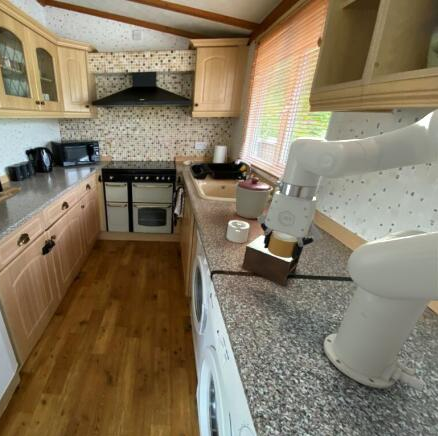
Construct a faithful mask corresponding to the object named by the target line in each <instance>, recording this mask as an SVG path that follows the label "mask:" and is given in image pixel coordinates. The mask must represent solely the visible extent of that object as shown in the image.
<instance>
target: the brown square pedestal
mask: <svg viewBox="0 0 438 436" xmlns="http://www.w3.org/2000/svg"><path fill="white" fill-rule="evenodd" d="M264 239H265V235H263V234H262V235H260V236H258V237H256V238H255V239H253V240H252V241H251V242H249V243H248V244H247V245H246V246H245V250H244V255H243V260H242V266H241V267H242V269H245V270H247V271H248V272H251V273H252V274H256V275H258V276H260V277H262V278H264V279H267V280H269V281H271V282H273V283H276V284H278V285H280V286H282V287H284V285H285V284H286V280H287V277H288V276H289V275H290V273H296V272H297V269H298V266H299V262H300V258H301V255H302V254H301V255H300V256H297V257H296V258H295V259H293V258H292V257H291V258H283V257H278V256H275V255H273V254H272V253H270V252H269V251H268V248H264V246H265V244H264Z"/></svg>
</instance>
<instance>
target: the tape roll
mask: <svg viewBox="0 0 438 436" xmlns="http://www.w3.org/2000/svg"><path fill="white" fill-rule="evenodd" d="M297 243H298V242H297V238H296V237H294V236H291V235H288V234H285V233H282V232H278V231H275V230H273V231H272V233H271V237H270V241H269V245H268V251H269V252H270V253H272V254H273V255H275V256H278V257H283V258H291V257H292V255H293V251H294V248H295V245H296V244H297Z"/></svg>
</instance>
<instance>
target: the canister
mask: <svg viewBox="0 0 438 436" xmlns="http://www.w3.org/2000/svg"><path fill="white" fill-rule="evenodd" d="M259 180H260V179H259V178H258V177H255V176H254V177H252V178H251V180H241V181H239V182H237V183H236V184H235V187H236V194H235V195H236V196H235V212H236V214H237V215H238V216H240V217H242V218H245V219H251V220H252V219H257V218H258V217H260V216H262V215H264V212H265V209H266V207H267V204H268V200H269V198H270V194H271V192H272V191H273V189H274V187H272V186H271V185H270V184H268V183H266V182H264V181H263V182H262V181H259Z"/></svg>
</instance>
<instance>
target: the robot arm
mask: <svg viewBox="0 0 438 436" xmlns="http://www.w3.org/2000/svg"><path fill="white" fill-rule="evenodd" d="M424 164H438V108H437V109H434V110H433V111H431V112H430V113H428V114H427V115H426V116H425V117H423V118H422V119H420V120H419V121H416V122H415V123H412V124H410V125H407V126H404V127H401V128H399V129H395V130H392V131H388V132H387V131H386V132H384V133H380V134H377V135H374V136H370V137H365V138H362V139H345V140H327V139H326V138H325V139H324V138H320V137H297V138H294V139H293V140H292V142H291V143H290V146H289V150H288V155H287V158H286V163H285V167H284V171H283V175H282V180H281V181H275V183H274V187H277V188H278V191H276V192H275V193H274V195H273V197H272V200H271V203H270V205H269V207H268V211H267V213H263V214H262V215H261V216H260V217H258V218H256V220H257V222H258V223H259V225H260V227H261V230H262V231H263V234H264V236H265V239H264V244H265V246H264V248H268V245H269V241H270V237H271V233H272V232H274V231H278V232H282V233H285V234H288V235H291V236H294V237H296V238H297V242H298V243H297V244H296V245H295V248H294V251H293V255H292V258H293V259H295V258H296V257H297V256H300V255H302V253H303V251H304V250H303V249H304V247H305V246H307V245H310V244H311V243H314V242H317V241H319V240H321V239H322V238H323V234H322V233H321V231H320V230H319V229H318V228H317V227H316V225H315V224H314V220H315V214H316V208H317V197H316V196H315V193H316V191H317V187H318V185H319V180H320V177H323V178H326V179H340V178H346V177H351V176H352V177H353V176H359V175H364V174H369V173H376V172H382V171H388V170H393V169H398V168H404V167H410V166H417V165H424ZM309 233H311V234H312V236H308V237H307V235H308V234H309ZM300 257H301V256H300ZM347 272H348V274H349V277H350V278H351V280H352V281H353V282H354V283H355V284H356V285H357V287H356V289H355V291H354V293H353V296H352V298H351V300H350V303H349V305H348V307H347V310H346V311H345V312H346V313H345V314H344V316H343V318H342V321H341V323H340V326H339V328H338V330H337V332H336V333H331V334H329V335H327V336H326V337H325V338H324V340H323V345H322V346H323V351H324V353H325V355H326V357H327V358H328V360H329V361H330V362H331V363H332V364H333V365H334V366H335V367H336V368H337V369H338V370H339V371H340V372H342V373H343V374H344V375H345V376H347V377H349V378H350V379H351V380H354V381H355V382H358V383H360V384H362V385H365V386H368V387H371V388H376V389H388V388H391V387H393V386H394V385H395V383H397V381H400V382H402V383H404V384H406V385H407V386H409V387H410V388H412V389H413V390H416V391H418V392H422V391H423V389H424V386H425V383H424V381H422V380H421V379H419V378H417V377H415V372H416V371H415V369H413V368H410V367H408V366H406V365H404V364H401V363H400V361H399V360H397V358H398V355H399V354H400V352H401V350H402V348H403V347H404V345H405V344H406V342H407V341H408V338H409V337H410V335H411V334H412V332H413V330H414V328H415V327H416V325H417V324H418V322H420V319H421V317H422V316H423V314H424V313H425V311H426V309H427V308H428V306H429V304H430V303H431V302H432V301H434V302H438V230H437V231H432V232H431V231H430V232H426V231H423V230H414V229H406V230H400V231H395V232H392V233H389V234H386V235H383V236H379V237H378V238H376V239H374V240H373V239H372V240H371V241H368V242H365V243H363V244H361V245H359V246H358V247H357V248H355V249H354V250H353V251H352V252H351V254H350V255H349V257H348V260H347Z"/></svg>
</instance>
